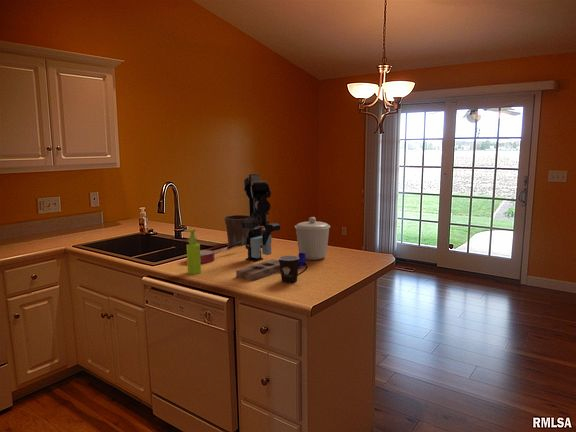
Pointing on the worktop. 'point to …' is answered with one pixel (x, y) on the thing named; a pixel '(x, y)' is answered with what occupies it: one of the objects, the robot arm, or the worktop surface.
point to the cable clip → (302, 259)
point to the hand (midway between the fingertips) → (261, 244)
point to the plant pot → (236, 229)
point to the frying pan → (213, 253)
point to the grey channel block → (256, 244)
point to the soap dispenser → (193, 254)
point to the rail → (259, 270)
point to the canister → (312, 238)
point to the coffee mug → (289, 268)
